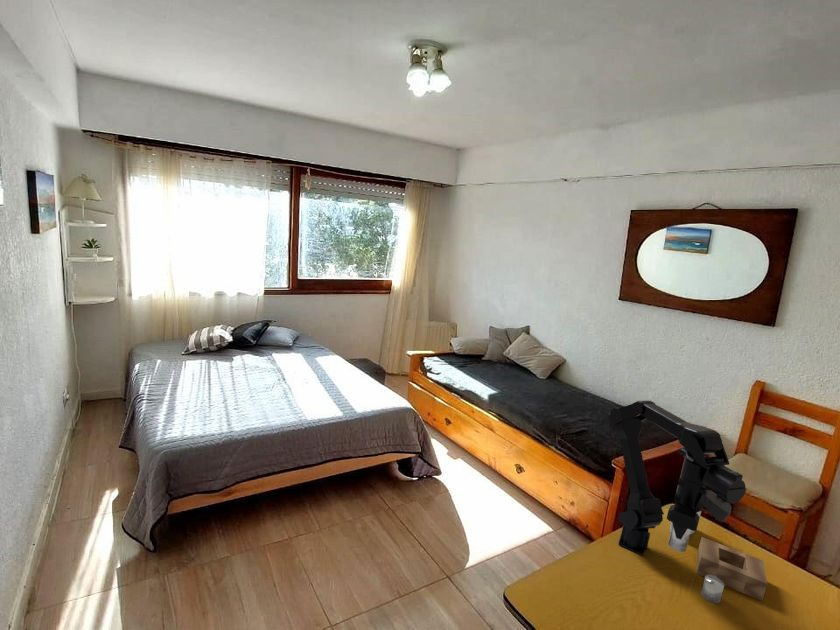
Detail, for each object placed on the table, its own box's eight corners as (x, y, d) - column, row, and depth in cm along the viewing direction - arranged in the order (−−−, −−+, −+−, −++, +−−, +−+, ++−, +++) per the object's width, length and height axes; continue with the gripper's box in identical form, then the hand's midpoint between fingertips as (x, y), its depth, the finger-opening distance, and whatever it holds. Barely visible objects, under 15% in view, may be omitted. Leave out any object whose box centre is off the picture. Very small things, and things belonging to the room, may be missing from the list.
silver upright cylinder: (666, 546, 113) (674, 514, 111) (669, 538, 116) (677, 507, 114) (684, 554, 111) (693, 522, 109) (687, 546, 114) (695, 514, 112)
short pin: (701, 597, 110) (705, 581, 109) (701, 587, 114) (705, 572, 113) (720, 606, 108) (724, 590, 107) (719, 595, 112) (724, 580, 111)
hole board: (697, 573, 118) (701, 557, 117) (697, 552, 127) (701, 536, 126) (762, 601, 111) (767, 583, 110) (758, 576, 120) (763, 560, 119)
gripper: (730, 510, 98) (713, 571, 101) (735, 477, 112) (720, 532, 115) (673, 488, 104) (659, 546, 107) (685, 460, 119) (672, 512, 122)
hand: (679, 534), depth 113 cm, fingers closed on silver upright cylinder, 4 cm apart
